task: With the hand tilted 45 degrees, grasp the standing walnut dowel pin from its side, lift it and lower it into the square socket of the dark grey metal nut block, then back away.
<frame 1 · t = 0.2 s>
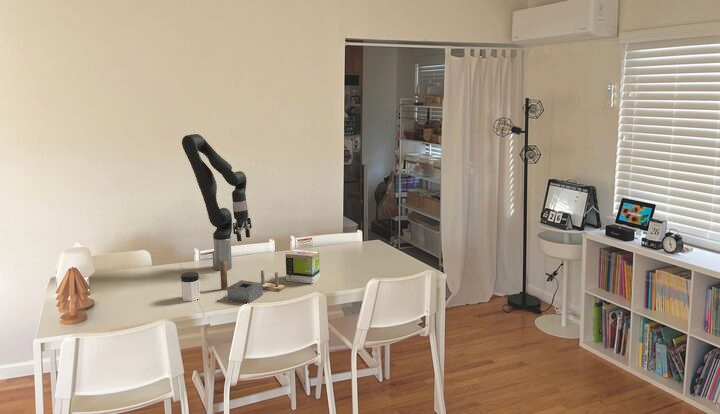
hand: (243, 239, 330), 18 cm above the table, tool pointing down, fingers open, 8 cm apart
walnut pin: (224, 289, 306), on the table
tea box: (303, 280, 321), on the table
jar: (191, 298, 294), on the table
nut block: (245, 297, 295), on the table
peg rack: (270, 288, 308), on the table
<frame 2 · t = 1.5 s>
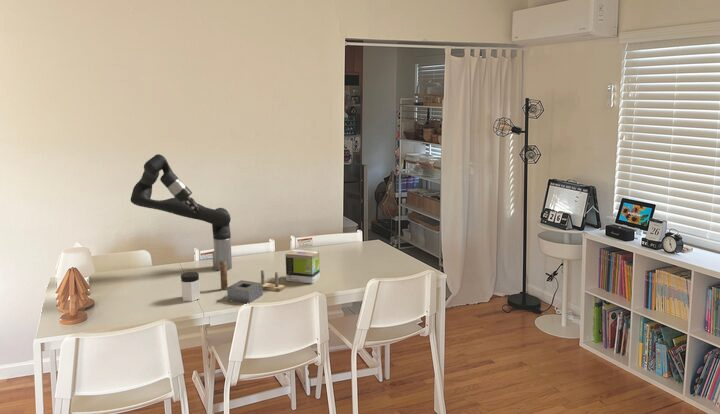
hand: (202, 215, 299), 37 cm above the table, tool tilted 40°, fingers open, 8 cm apart
nothing on the table moved.
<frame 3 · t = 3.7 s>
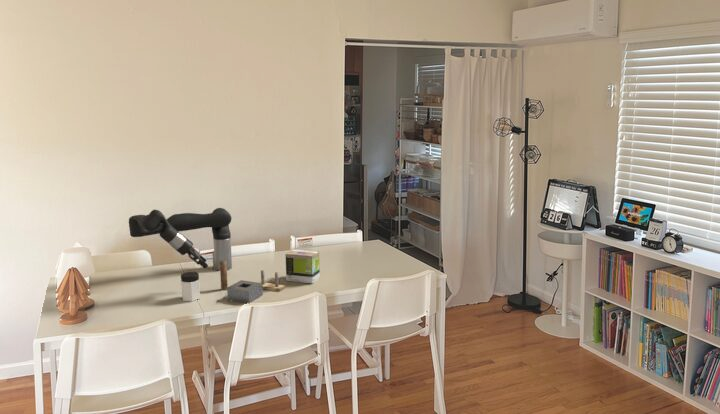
hand: (205, 264, 300), 14 cm above the table, tool tilted 45°, fingers open, 8 cm apart
nothing on the table moved.
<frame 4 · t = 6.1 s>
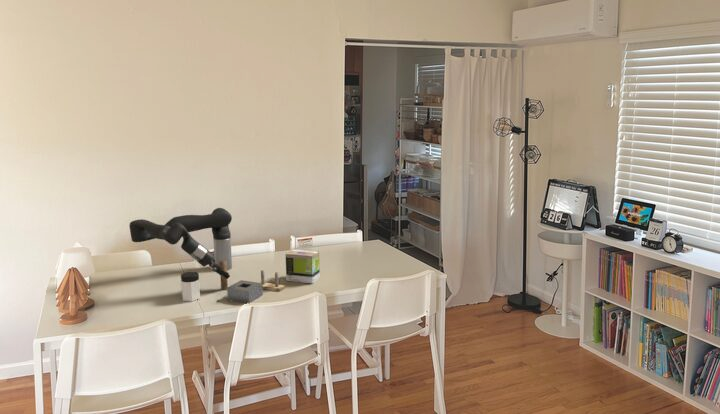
hand: (228, 276, 306), 6 cm above the table, tool tilted 45°, fingers closed on walnut pin, 3 cm apart
walnut pin: (224, 289, 306), on the table, touching gripper
everything else where it was.
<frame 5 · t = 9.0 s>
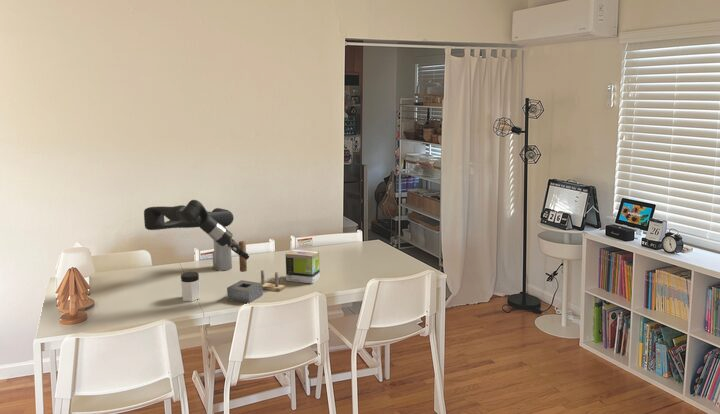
hand: (247, 257, 291), 20 cm above the table, tool tilted 45°, fingers closed on walnut pin, 3 cm apart
walnut pin: (243, 270, 292), point 13 cm above the table, touching gripper
everything else where it was.
when the fingers open (10 cm above the table, at t = 11.7 s): walnut pin drops 1 cm, resting on nut block.
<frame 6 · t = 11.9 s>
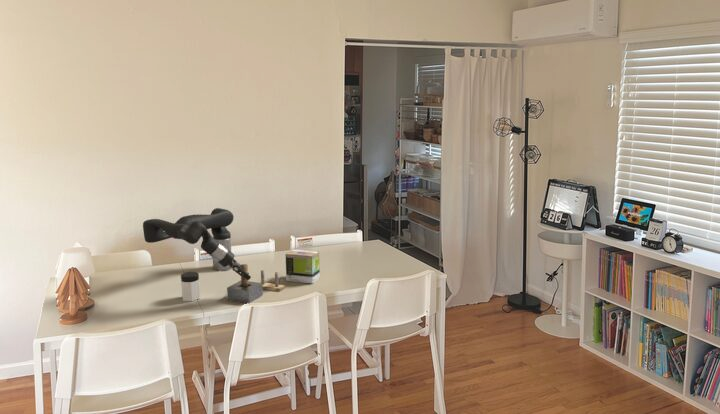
hand: (248, 276, 293), 10 cm above the table, tool tilted 45°, fingers open, 5 cm apart
walnut pin: (245, 293, 295), point 2 cm above the table, touching nut block
everything else where it was.
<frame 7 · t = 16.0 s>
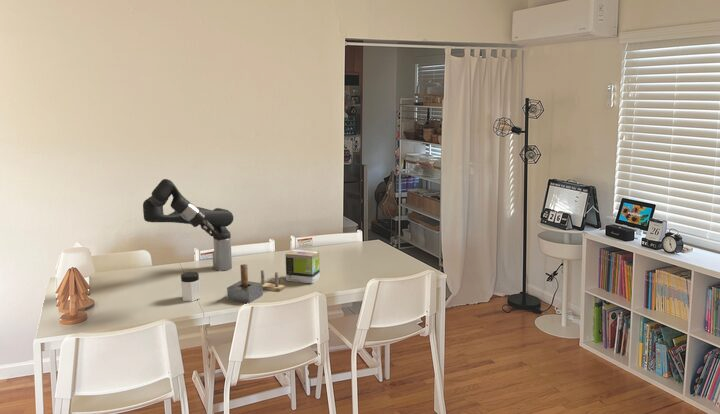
hand: (219, 237, 285), 31 cm above the table, tool tilted 45°, fingers open, 8 cm apart
nothing on the table moved.
at the end: walnut pin 0.1 cm from the nut block (horizontally); walnut pin point 2.0 cm above the table; walnut pin tilted 0° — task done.
